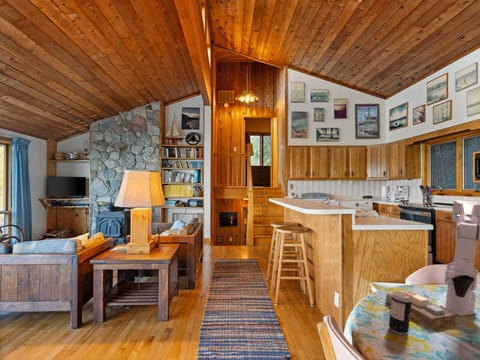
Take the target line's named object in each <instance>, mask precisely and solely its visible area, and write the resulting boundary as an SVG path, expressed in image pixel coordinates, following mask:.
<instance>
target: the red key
mask: <svg viewBox="0 0 480 360" xmlns="http://www.w3.org/2000/svg"><path fill="white" fill-rule="evenodd" d="M399 292H402V293H406V294H408V295H409V296H410V297H411V296H414V295H412V294H410V293H408V292H409V291H406V290H401V291H399Z"/></svg>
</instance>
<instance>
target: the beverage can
mask: <svg viewBox="0 0 480 360" xmlns="http://www.w3.org/2000/svg"><path fill="white" fill-rule="evenodd" d="M393 293H394V294H393V295H392V300H391V305H390V313H389V321H388V326H389V328H390V329H391V331H392V332H393V333H395V334H398V335H405V334H406V333H408V332H409V330H410V319H411V317H410V312H411V303H412V301H411V297H410V296H409V295H408V294H406V293H402V292H400V291H394V292H393Z"/></svg>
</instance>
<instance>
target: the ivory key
mask: <svg viewBox="0 0 480 360" xmlns="http://www.w3.org/2000/svg"><path fill="white" fill-rule="evenodd" d="M411 301H412V303H413V304H415V305H417V306H419V307H426V306H428V302H430V299H428V298H426V297H424V296H422V295H420V294H415V295H414V296H411Z"/></svg>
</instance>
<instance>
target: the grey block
mask: <svg viewBox="0 0 480 360" xmlns="http://www.w3.org/2000/svg"><path fill="white" fill-rule="evenodd" d="M435 305H436V304H435ZM435 305H429V306H426V308H425V310H426V311H428V312H430V313H432V314H434V315H436V316H438V315H444V310H443V309H441V308H439V307H437V306H435Z"/></svg>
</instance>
